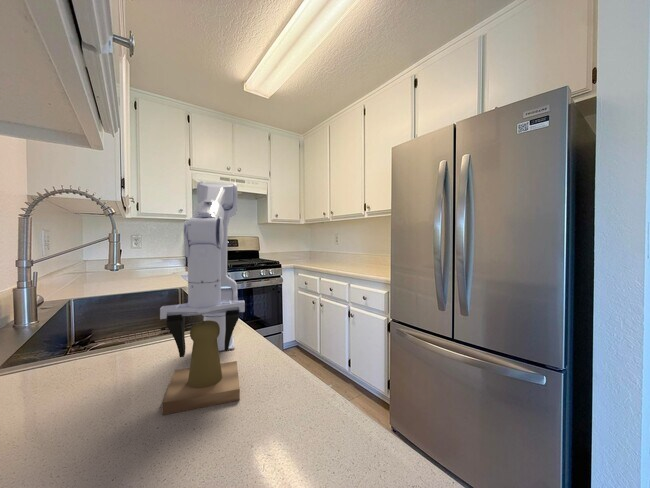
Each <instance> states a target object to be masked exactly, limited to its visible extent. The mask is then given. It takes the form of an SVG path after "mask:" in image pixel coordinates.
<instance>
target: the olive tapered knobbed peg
mask: <svg viewBox="0 0 650 488" xmlns="http://www.w3.org/2000/svg"><path fill="white" fill-rule="evenodd" d="M219 333H220V327H219V324H218V323H217V322H216V321H211V320H207V321H204V320H202V321H197V322H195V323H194V324H192V326H191V327H190V330H189V337H190V340H192V349H191V357H190V364H189V368H190V370H189V378H188V385H189V386H190V387H192V388H205V387H209V386H213V385H215V384H217V383H218V382H219V381H221V379H222V370H221V364H220V363H221V358H220V351H219V350H218V343H217V337H218V336H219Z"/></svg>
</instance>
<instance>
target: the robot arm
mask: <svg viewBox="0 0 650 488" xmlns="http://www.w3.org/2000/svg"><path fill="white" fill-rule="evenodd" d="M196 199H197V202H198V204H197V206H196V208H195V211H194V213H193V214H192V215H193V216H192V217H190V218H189V220H185V221H184V224H183V230H182V231H183V232H182V235H183V242H184V246H185V257H186V258H187V302H186V303H179V304H171V305H163V306H161V307H160V308H159V319H160V320H166V322H165V325H166V326H167V327H166V328H167V329H168V330H169V332H170V334H171V335H172V337H173V339H174V341H175V344H176V346H177V350H178V354H179V358H184V357H185V355H186V338H185V333H186V332H185V327H186V325H185V323H186V317H190V316H192V317H193V316H200V315H201V316H203V321H207V320H211V321H216V322H217V323H218V324H219V327H220V333H219V336H218V337H217V343H218V350H219V352H220V351H224V352H229V350H235V347H236V346H235V339H234V338H235V337H234V335H233V334H234V333H233V332H234V330H235V327H236V325H237V323H238V321H239V318H240V313H245V310H246V306H245V305H246V303H245V300H244V299H243V300H239V298H238V296H239V295H238V294H239V293H238V283H237V282H236V280H234V279H233V278H231V277H230V276H228V232H229V231H228V230H229V228H228V227H229V223H230V219H231V218H232V217H235V216H236V215H237V212H238V185H237V183H236V182H216V181H213V182H212V181H210V182H209V181H202V180H199V181H198V182H197V185H196Z"/></svg>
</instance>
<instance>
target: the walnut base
mask: <svg viewBox="0 0 650 488" xmlns="http://www.w3.org/2000/svg"><path fill="white" fill-rule="evenodd" d="M220 364H221V370H222V379H221V381H219V382H218V383H217V384H215V385H213V386H209V387H205V388H192V387H190V386H189V385H188V378H189V370H190V367H188V368H186V367H185V368H179V369H175V370H174V371H173V375H172V376H171V380H170V382H169V385H168V387H167V390H166V392H165V395H164V398H163V400H162V416H164V415H169V414H175V413H179V412H180V413H181V412H186V411H191V410H195V409H201V408H206V407H211V406H216V405H221V404H226V403H231V402H237V401H240V400H241V397H240V396H241V395H240V394H241V392H240V391H241V387H240V380H239V371H238V370H239V369H238V361H236V360H235V361H228V362H222V363H221V362H220Z"/></svg>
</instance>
